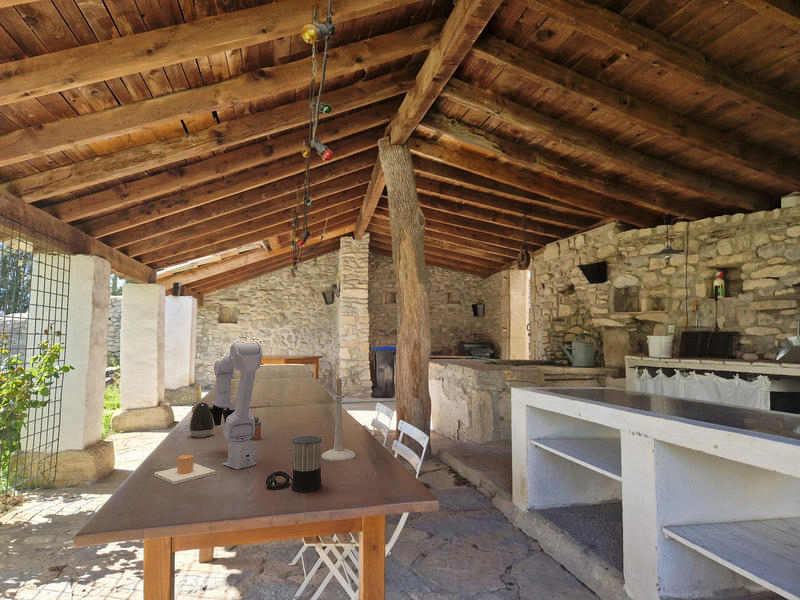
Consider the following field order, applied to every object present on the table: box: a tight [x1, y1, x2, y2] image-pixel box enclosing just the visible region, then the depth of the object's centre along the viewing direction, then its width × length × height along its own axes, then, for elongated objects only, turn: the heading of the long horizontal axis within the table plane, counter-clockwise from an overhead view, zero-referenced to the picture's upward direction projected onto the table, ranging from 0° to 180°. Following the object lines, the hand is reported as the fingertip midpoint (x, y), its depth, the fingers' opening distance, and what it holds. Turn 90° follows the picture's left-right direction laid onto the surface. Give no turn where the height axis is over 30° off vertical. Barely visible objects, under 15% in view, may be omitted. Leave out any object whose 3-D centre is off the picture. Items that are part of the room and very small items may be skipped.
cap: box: [176, 454, 195, 474], centre depth 159 cm, size 5×5×5 cm
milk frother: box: [265, 435, 323, 493], centre depth 147 cm, size 14×16×15 cm
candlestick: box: [321, 377, 357, 462], centre depth 182 cm, size 13×13×30 cm
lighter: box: [250, 415, 262, 441], centre depth 209 cm, size 8×3×10 cm, turn 84°
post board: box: [153, 463, 217, 485], centre depth 159 cm, size 14×14×5 cm
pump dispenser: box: [189, 402, 215, 439], centre depth 216 cm, size 10×10×15 cm
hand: (222, 426), depth 186 cm, fingers open, 7 cm apart
